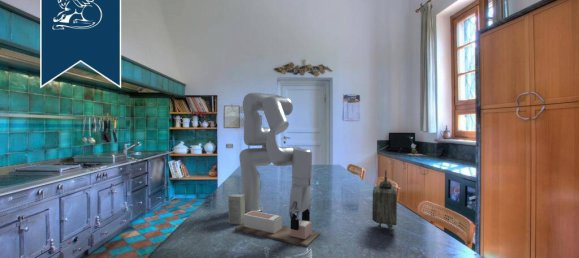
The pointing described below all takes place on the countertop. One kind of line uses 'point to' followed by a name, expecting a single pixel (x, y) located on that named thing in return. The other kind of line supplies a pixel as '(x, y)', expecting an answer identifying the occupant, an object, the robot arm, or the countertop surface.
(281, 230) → the board
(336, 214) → the countertop surface
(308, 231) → the stub
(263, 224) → the white box with vents
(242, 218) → the skincare box
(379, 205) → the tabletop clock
